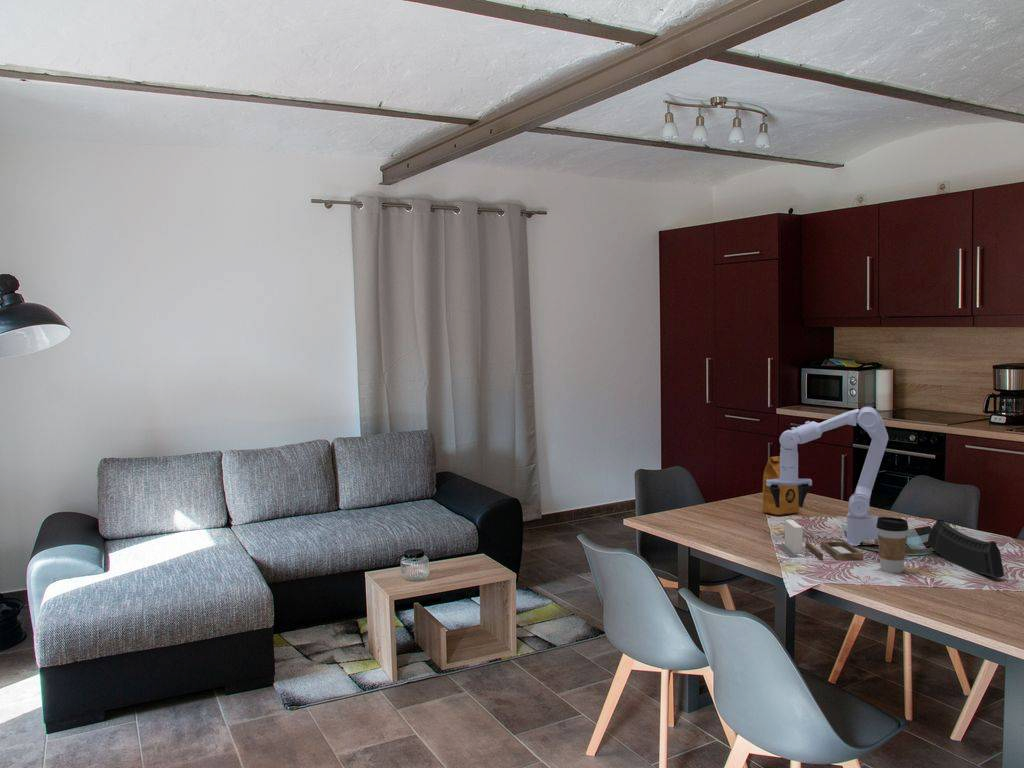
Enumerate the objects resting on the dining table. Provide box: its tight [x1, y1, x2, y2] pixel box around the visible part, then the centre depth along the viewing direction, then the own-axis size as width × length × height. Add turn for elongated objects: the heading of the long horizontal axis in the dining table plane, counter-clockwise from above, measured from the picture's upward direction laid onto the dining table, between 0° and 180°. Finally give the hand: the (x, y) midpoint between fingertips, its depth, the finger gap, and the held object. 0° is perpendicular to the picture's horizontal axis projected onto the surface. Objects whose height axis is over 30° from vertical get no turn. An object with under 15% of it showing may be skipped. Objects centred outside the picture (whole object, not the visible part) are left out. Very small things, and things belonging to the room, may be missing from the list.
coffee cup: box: [876, 516, 909, 574], centre depth 236 cm, size 8×8×15 cm
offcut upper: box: [832, 547, 852, 553], centre depth 254 cm, size 3×7×1 cm, turn 4°
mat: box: [775, 543, 813, 558], centre depth 258 cm, size 7×14×1 cm, turn 179°
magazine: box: [927, 518, 1005, 579], centre depth 238 cm, size 17×3×30 cm
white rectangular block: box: [784, 519, 804, 555], centre depth 258 cm, size 2×10×8 cm, turn 179°
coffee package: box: [762, 455, 801, 516], centre depth 308 cm, size 10×12×22 cm
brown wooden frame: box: [804, 540, 864, 562], centre depth 254 cm, size 13×14×2 cm
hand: (788, 506), depth 273 cm, fingers open, 7 cm apart
